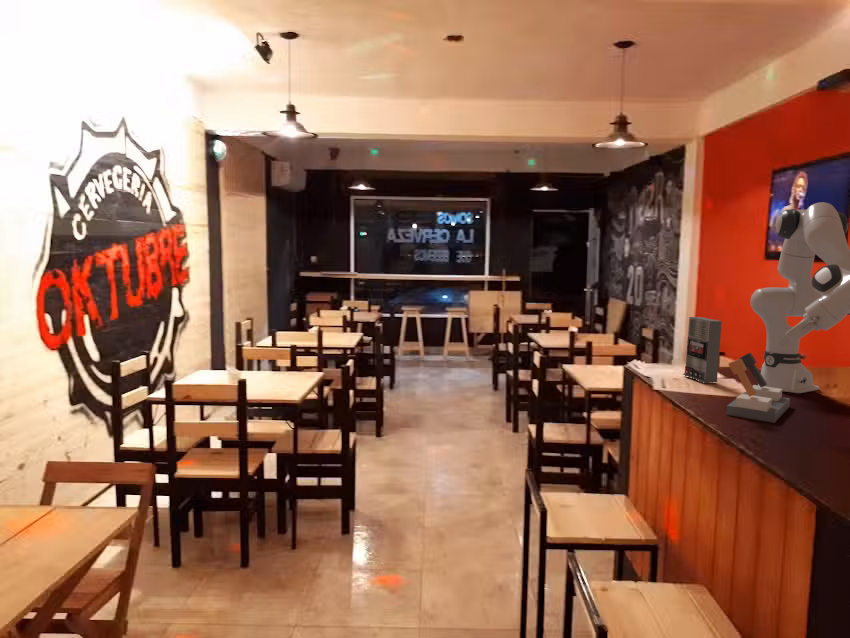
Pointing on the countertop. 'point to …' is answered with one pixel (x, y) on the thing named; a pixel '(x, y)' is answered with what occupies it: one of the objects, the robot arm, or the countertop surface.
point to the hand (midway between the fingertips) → (780, 344)
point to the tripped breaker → (742, 375)
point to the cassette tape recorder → (703, 349)
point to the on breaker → (753, 368)
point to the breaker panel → (760, 414)
